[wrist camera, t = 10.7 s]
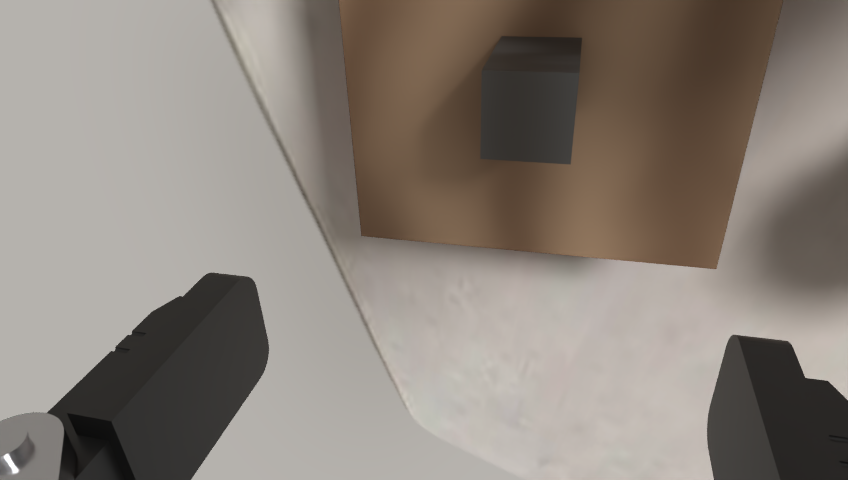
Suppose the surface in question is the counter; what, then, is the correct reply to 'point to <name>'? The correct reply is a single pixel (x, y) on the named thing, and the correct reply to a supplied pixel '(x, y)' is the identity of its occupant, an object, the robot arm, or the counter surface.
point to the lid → (555, 121)
